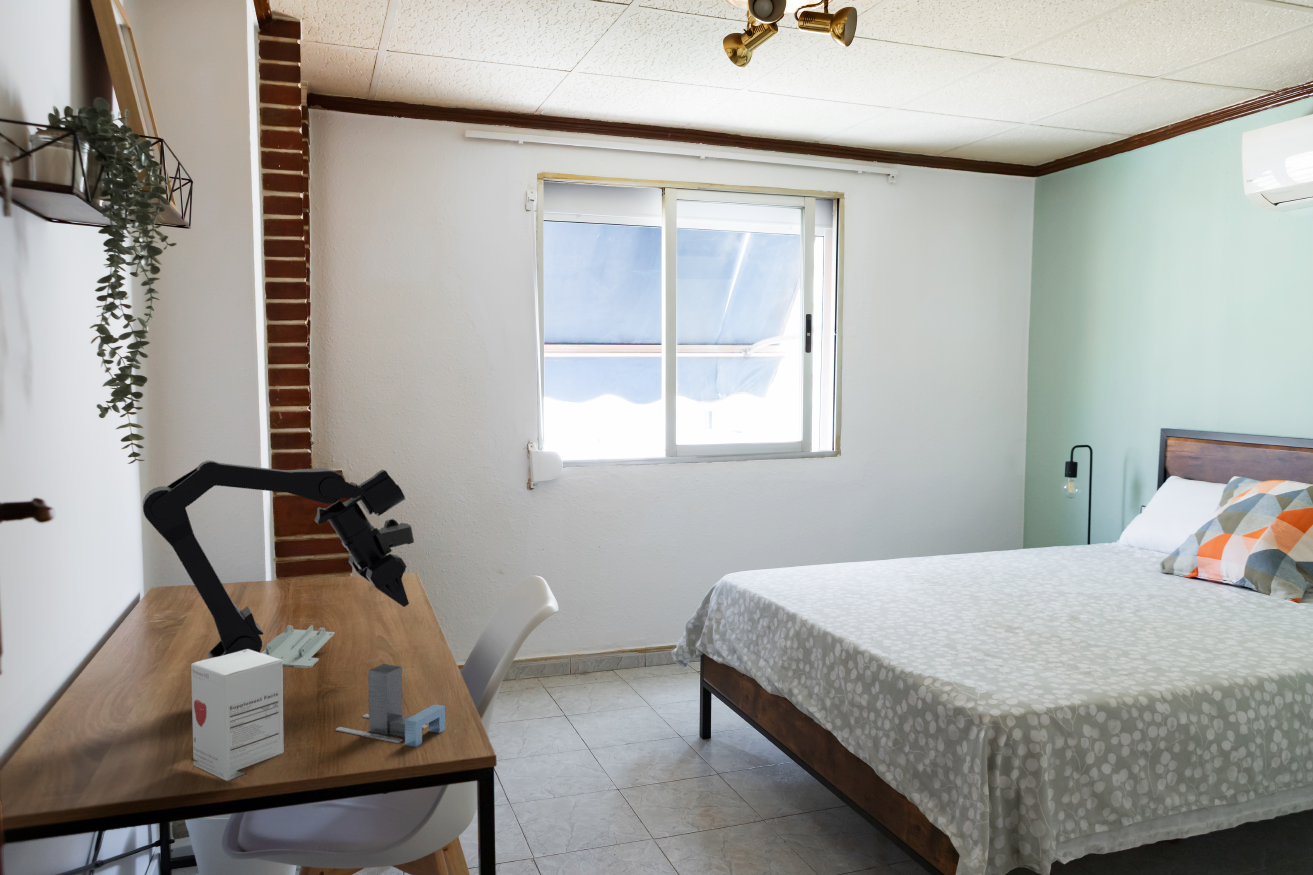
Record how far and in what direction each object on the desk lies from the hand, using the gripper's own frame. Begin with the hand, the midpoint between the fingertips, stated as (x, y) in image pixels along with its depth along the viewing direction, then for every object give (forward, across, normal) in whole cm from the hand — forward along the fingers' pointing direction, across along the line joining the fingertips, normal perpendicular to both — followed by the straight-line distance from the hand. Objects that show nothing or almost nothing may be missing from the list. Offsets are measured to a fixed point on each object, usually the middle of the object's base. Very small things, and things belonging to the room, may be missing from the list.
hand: (399, 599), depth 163 cm
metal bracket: (+6, +24, +20) cm, 32 cm away
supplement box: (-2, -26, +33) cm, 42 cm away
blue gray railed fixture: (+8, -27, +15) cm, 32 cm away
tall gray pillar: (+8, -28, +14) cm, 32 cm away
